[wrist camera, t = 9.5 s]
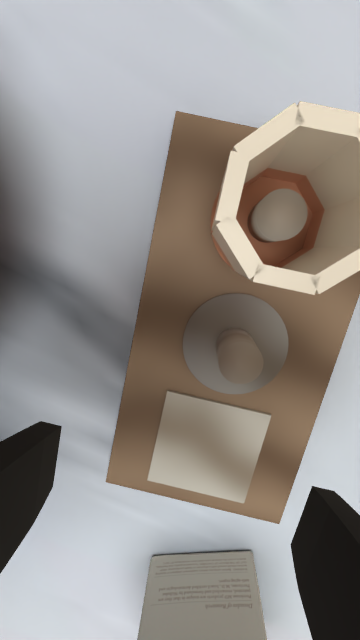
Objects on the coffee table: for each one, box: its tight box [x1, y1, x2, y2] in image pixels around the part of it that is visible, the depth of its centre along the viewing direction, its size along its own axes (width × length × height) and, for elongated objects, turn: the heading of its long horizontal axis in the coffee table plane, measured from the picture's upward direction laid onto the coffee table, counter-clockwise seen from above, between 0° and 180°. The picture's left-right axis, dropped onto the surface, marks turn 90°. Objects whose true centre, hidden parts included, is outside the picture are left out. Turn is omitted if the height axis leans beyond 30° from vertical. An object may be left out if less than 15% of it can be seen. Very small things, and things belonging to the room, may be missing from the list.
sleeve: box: [211, 101, 360, 295], centre depth 12 cm, size 5×5×6 cm
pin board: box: [106, 111, 360, 524], centre depth 16 cm, size 21×11×4 cm, turn 168°
